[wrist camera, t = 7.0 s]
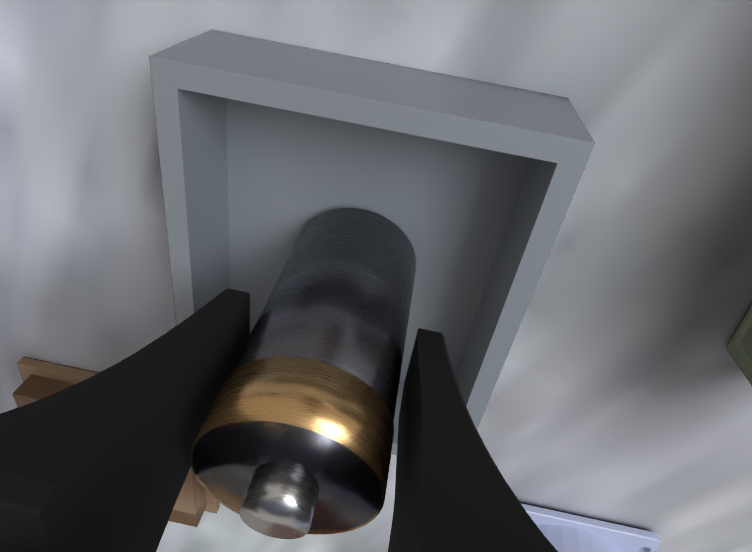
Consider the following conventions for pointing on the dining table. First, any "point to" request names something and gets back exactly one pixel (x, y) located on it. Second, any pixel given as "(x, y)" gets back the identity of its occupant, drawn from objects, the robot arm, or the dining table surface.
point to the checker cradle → (54, 378)
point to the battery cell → (316, 384)
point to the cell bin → (364, 182)
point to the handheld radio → (743, 345)
